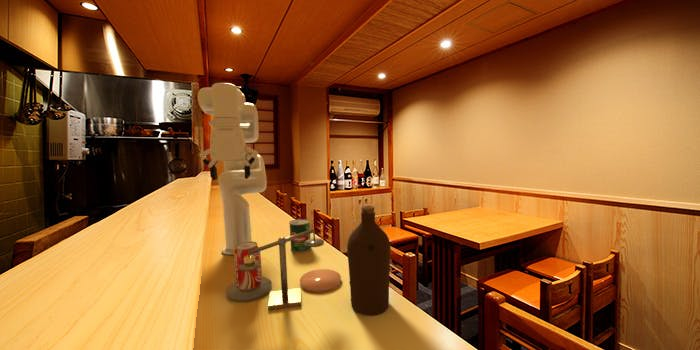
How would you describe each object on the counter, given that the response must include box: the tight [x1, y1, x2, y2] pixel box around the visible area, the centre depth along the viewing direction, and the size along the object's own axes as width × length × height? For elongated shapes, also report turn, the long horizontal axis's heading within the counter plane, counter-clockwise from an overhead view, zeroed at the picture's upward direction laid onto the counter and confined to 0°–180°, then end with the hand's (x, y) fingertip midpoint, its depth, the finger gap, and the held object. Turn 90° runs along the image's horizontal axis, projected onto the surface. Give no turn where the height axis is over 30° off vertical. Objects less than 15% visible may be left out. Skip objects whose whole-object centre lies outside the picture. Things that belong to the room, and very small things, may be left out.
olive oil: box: [346, 205, 391, 316], centre depth 69 cm, size 11×11×25 cm
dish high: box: [299, 268, 342, 293], centre depth 83 cm, size 12×12×1 cm
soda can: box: [233, 241, 263, 291], centre depth 79 cm, size 7×7×12 cm
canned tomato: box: [289, 218, 312, 253], centre depth 110 cm, size 8×8×11 cm
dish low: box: [225, 276, 273, 303], centre depth 79 cm, size 12×12×1 cm
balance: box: [239, 228, 325, 311], centre depth 73 cm, size 7×21×19 cm, turn 101°
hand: (231, 179), depth 90 cm, fingers open, 9 cm apart
